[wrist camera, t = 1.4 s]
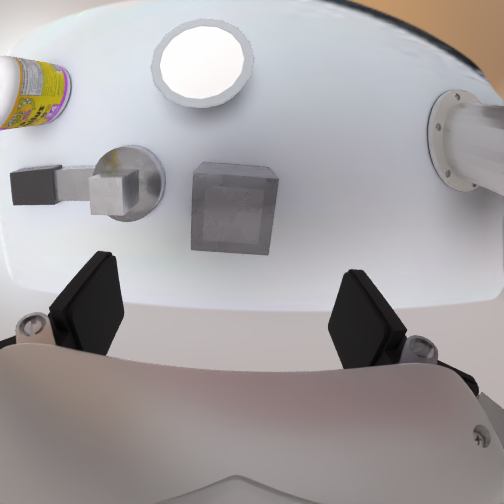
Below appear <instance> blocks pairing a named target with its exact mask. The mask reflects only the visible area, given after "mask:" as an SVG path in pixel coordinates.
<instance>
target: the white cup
mask: <svg viewBox="0 0 504 504" xmlns="http://www.w3.org/2000/svg"><path fill="white" fill-rule="evenodd" d="M253 62H254V55H253V52H252V48H251V44H250V41H249V40H248V39H247V38H246V36H245V35H244V34H243V33H242V32H241V31H240V30H239V28H237V27H235V26H233V25H231V24H229V23H226V22H224V21H222V20H214V19H198V20H194V21H190V22H187V23H183V24H181V25H180V26H178V27H176V28H175V29H173V30H172V31H171V32H169V33H168V34H166V35H165V36H164V38H163V39H162V41H161V42H160V43H159V45H158V46H157V48H156V49H155V51H154V55H153V59H152V64H151V71H152V76H153V81H154V84H155V86H156V87H157V88H158V89H159V91H160V92H161V93H162V94H163V96H164V97H165V98H167V99H169V100H171V101H173V102H174V103H176V104H178V105H180V106H184V107H195V108H209V107H214V106H218V105H222V104H224V103H226V102H227V101H229V100H230V99H232V98H233V97H234V96H235V95H236V94H237V93H238V92H239V91H240V90H241V89H242V87H243V86H244V84H245V83H246V82H247V80H248V79H249V78H250V76H251V72H252V67H253Z"/></svg>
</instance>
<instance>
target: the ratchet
mask: <svg viewBox="0 0 504 504" xmlns="http://www.w3.org/2000/svg"><path fill="white" fill-rule="evenodd" d="M10 182H11V192H12V201H13V205H55V204H57V203H58V202H60V201H90V207H91V215H108V216H109V217H111V218H113V219H115V220H118V221H122V222H131V221H136V220H139V219H141V218H143V217H144V216H146V215H147V214H148V213H149V212H150V211H151V210H152V209H153V208H154V207H155V206H156V205H157V203H158V202H159V201H160V199H161V197H162V195H163V192H164V188H165V173H164V169H163V167H162V164H161V162H160V161H159V159H158V158H157V157H156V156H155V155H154V154H153V153H152V152H151V151H149V150H148V149H146V148H144V147H141V146H134V145H131V146H124V147H120V148H116V149H113V150H111V151H109V152H108V153H106V154H105V155H104V156H103V157H102V158H101V159H100V160H99V162H98V163H97V165H96V166H80V167H65V168H62V165H55V166H45V167H36V168H27V169H20V170H17V171H14V172H12V173H10Z"/></svg>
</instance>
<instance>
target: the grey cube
mask: <svg viewBox="0 0 504 504" xmlns="http://www.w3.org/2000/svg"><path fill="white" fill-rule="evenodd" d="M278 180H279V179H278V178H277V177H276V175H275V174H274V173H273V172H272V171H271V170H270V168H269V167H260V166H250V165H238V164H225V163H209V162H203V163H202V164H201V165H200V166H199V167H198V168H197V169H196V170H195V171H194V172H193V193H192V222H191V250H197V251H212V252H227V253H242V254H257V255H268V254H269V246H270V239H271V232H272V225H273V217H274V210H275V203H276V195H277V187H278Z"/></svg>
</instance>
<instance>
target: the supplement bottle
mask: <svg viewBox="0 0 504 504" xmlns="http://www.w3.org/2000/svg"><path fill="white" fill-rule="evenodd" d="M70 88H71V85H70V78H69V75H68V73H67V71H66V70H65V69H64V68H62V67H61V66H58V65H54V64H49V63H45V62H40V61H34V60H28V59H23V58H17V57H10V56H0V130H5V129H12V128H19V127H26V126H34V125H42V124H46V123H49V122H51V121H52V120H54V119H55V118H56V117H57V116H58V115H59V114H60V113H61V112H62V110H63V109H64V107H65V105H66V103H67V101H68V98H69V94H70Z"/></svg>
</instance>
